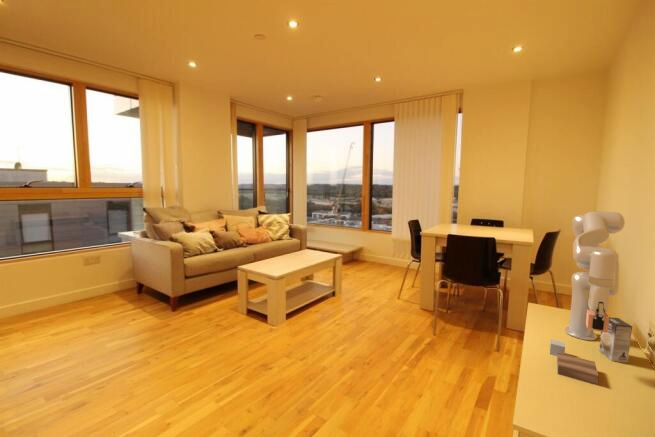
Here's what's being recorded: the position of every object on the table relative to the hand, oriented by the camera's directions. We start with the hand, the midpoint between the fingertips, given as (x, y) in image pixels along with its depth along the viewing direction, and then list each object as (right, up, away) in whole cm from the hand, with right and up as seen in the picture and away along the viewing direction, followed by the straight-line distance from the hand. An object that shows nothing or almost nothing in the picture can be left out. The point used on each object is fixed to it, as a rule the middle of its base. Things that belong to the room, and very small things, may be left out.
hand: (596, 325), depth 126 cm
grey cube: (-6, -17, +13) cm, 22 cm away
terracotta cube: (0, -1, 0) cm, 1 cm away
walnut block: (-9, -18, -1) cm, 20 cm away
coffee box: (+17, -18, +12) cm, 27 cm away
